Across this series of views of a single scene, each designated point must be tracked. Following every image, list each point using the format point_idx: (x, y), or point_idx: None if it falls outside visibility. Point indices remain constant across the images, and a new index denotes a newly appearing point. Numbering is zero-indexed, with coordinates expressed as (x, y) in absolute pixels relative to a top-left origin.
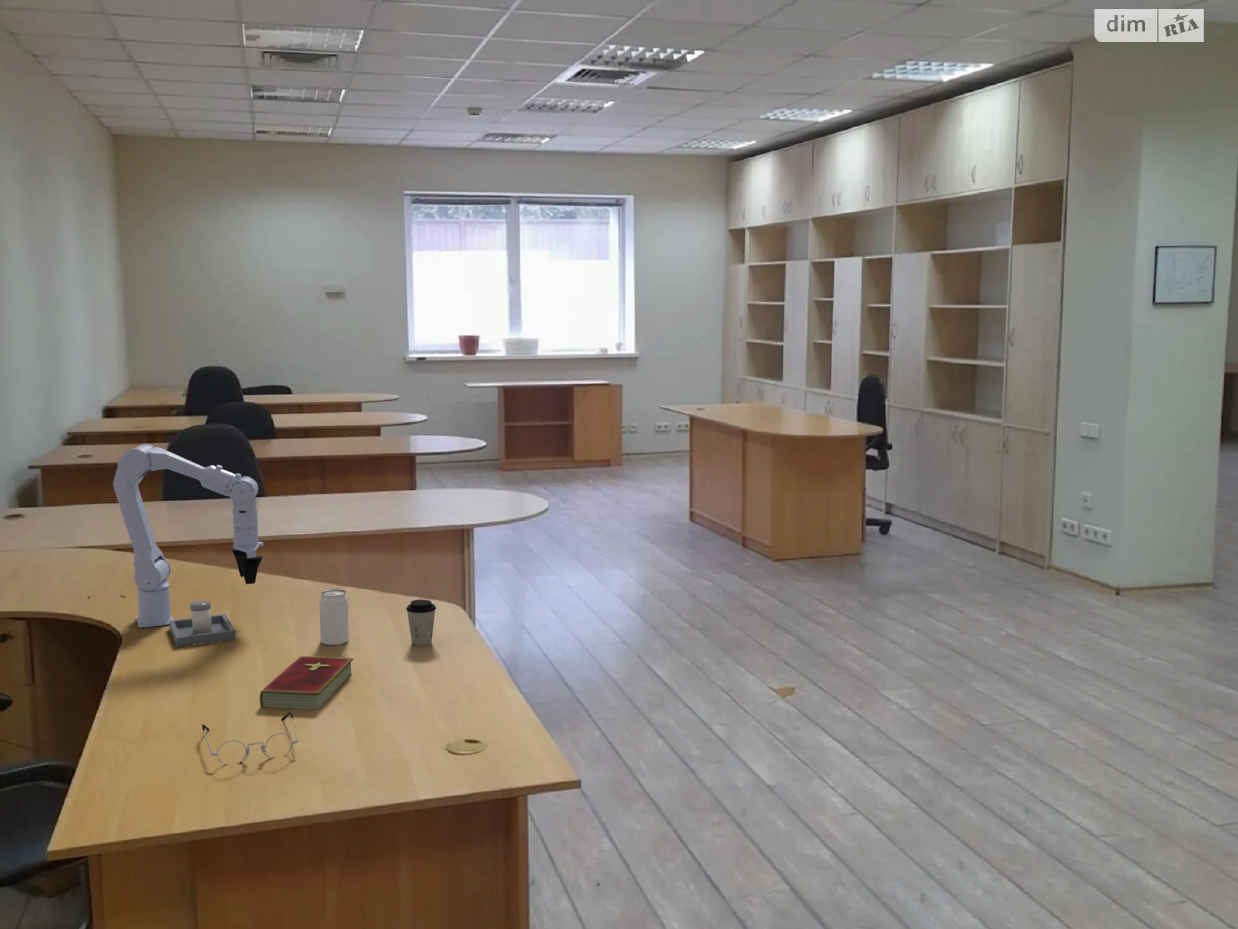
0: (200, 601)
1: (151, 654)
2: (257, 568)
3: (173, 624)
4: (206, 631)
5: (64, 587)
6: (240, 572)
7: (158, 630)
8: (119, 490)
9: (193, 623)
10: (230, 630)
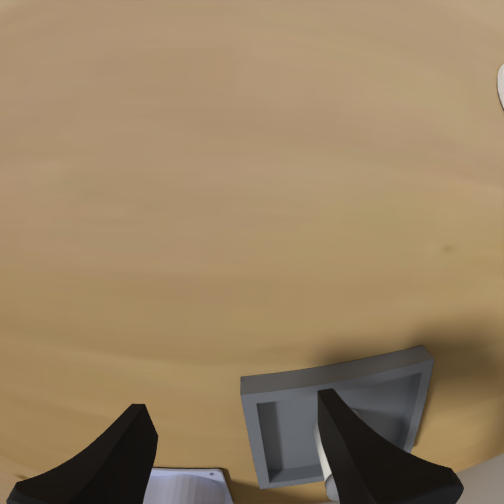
0: (334, 491)
1: None
2: (387, 442)
3: (298, 481)
4: (362, 419)
5: (4, 499)
6: (153, 456)
7: (257, 484)
8: None
9: None
10: (425, 371)
